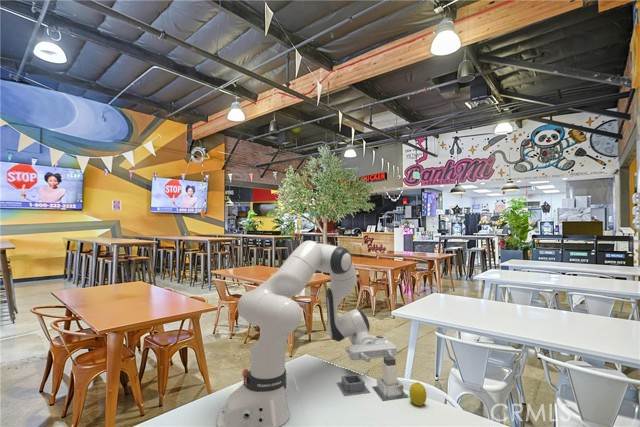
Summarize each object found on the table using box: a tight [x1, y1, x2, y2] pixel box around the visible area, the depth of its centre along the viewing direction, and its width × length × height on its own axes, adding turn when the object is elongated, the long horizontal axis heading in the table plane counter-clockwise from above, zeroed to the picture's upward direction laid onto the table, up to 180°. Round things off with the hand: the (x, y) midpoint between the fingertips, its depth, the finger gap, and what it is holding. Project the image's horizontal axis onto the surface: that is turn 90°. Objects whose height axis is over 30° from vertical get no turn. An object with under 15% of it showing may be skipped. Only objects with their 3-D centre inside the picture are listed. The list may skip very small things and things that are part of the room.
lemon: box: [408, 381, 427, 407], centre depth 107 cm, size 6×6×8 cm
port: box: [371, 377, 410, 402], centre depth 114 cm, size 10×10×4 cm
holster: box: [336, 374, 371, 397], centre depth 118 cm, size 10×10×4 cm
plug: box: [382, 356, 398, 386], centre depth 115 cm, size 4×4×12 cm
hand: (379, 358), depth 124 cm, fingers open, 8 cm apart
